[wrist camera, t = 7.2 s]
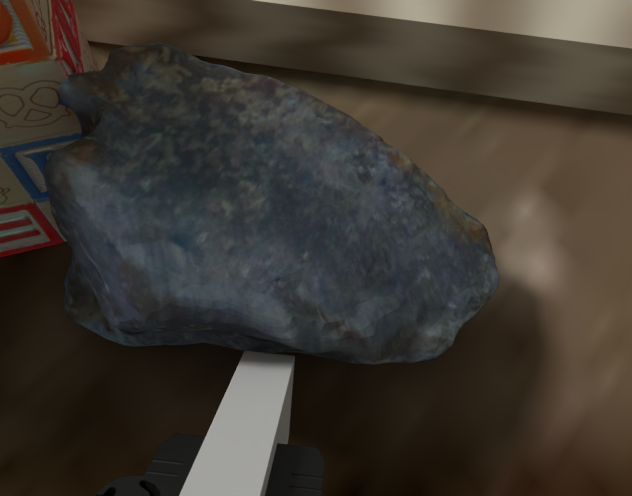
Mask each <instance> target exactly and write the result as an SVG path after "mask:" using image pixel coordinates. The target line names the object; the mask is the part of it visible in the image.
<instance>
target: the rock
mask: <svg viewBox="0 0 632 496" xmlns="http://www.w3.org/2000/svg"><path fill="white" fill-rule="evenodd" d="M68 76H69V78H68V79H66V80H63V81H61V83H60V85H59V92H60V99H59V102H58V104H61V105H63V106H66V107H68V108H70V109H72V110H73V111H74V113H75V114H76V116H77V118H78V120H79V123H80V125H81V130H82V135H81V139H79V140H77V141H75V142H73V143H71V144H69V145H67V146H65V147H63V148H61V149H59V150H56V151H54V152H53V153H52V155H51V156H50V157H49V159H48V161H47V163H46V164H45V166H44V179H45V183H46V187H47V192H48V196H49V201H50V207H51V212H52V216H53V218H54V220H55V222H56V224H57V226H58V229H59V231H60V233H61V234H62V235H63V237H64V238H65V239H66V241H67V242H68V244H69V246H70V247H71V249H72V251H73V252H72V259H71V262H70V266H69V269H68V272H67V274H66V276H65V279H64V285H65V289H66V291H65V296H64V309H65V312H66V314H67V316H68V317H69V318H70V320H71V321H72V322H74V323H76V324H78V325H81V326H83V327H85V328H87V329H88V330H90V331H92V332H94V333H96V334H98V335H100V336H102V337H104V338H105V339H108V340H111V341H114V342H116V343H119V344H122V345H126V346H136V347H138V346H154V345H188V344H197V343H209V344H215V345H220V346H224V347H228V348H232V349H236V350H242V351H253V352H263V353H274V352H298V353H303V354H308V355H313V356H318V357H323V358H330V359H335V360H339V361H343V362H347V363H350V364H371V365H373V364H387V363H403V364H413V363H417V362H421V361H426V360H432V359H434V358H436V357H438V356H439V355H441V354H442V353H444V352H445V351H446V350H448V349H449V348H450V347H452V345H453V342H454V339H455V337H456V335H457V333H458V331H459V329H460V328H461V327H462V326H463V324H464V323H465V322H467V321H468V320H469V319H471V318H472V317H473V316H474V315H475V314H476V313H477V312H478V311H479V310H480V308H481V307H482V306H483V305H484V304H485V303H486V302H487V301H488V300H490V298H491V297H492V296H493V294H494V292H495V291H496V289H497V287H498V283H499V279H500V275H499V274H498V271H497V268H496V265H495V257H494V255H493V252H492V246H491V243H490V240H489V236H488V232H487V230H486V228H485V227H484V225H483V224H482V223H480V222H479V221H478V220H477V219H475V218H473V217H472V216H470V215H469V214H467V213H465V212H464V211H463V210H461V209H460V208H459V207H457V206H456V205H455V204H453V202H452V201H451V200H450V199H449V198H448V197H447V195H446V193H445V192H444V190H443V189H442V188H441V187H440V186H438V185H437V184H436V183H435V182H434V181H433V180H432V179H431V178H430V177H429V176H428V175H427V174H426V173H425V172H424V171H422V170H421V169H420V168H418V167H417V166H416V165H415V164H414V163H413V162H412V161H411V160H410V159H409V157H408V156H407V155H406V154H404V153H402V152H400V151H398V150H396V149H395V148H393V147H392V146H390V145H388V144H387V143H385V142H384V141H383V139H382V138H381V137H380V136H378V135H376V134H375V133H373V132H372V131H370V130H368V129H367V128H365V127H363V126H362V125H361V124H360V123H359V122H358V121H356V120H355V119H354V118H352V117H351V116H349V115H347V114H345V113H343V112H341V111H339V110H337V109H336V108H334V107H332V106H330V105H329V104H327V103H325V102H323V101H321V100H319V99H318V98H315V97H313V96H311V95H310V94H308V93H307V92H305V91H302V90H300V89H298V88H295V87H293V86H291V85H287V84H284V83H282V82H281V81H279V80H277V79H273V78H271V77H268V76H266V75H258V74H249V73H243V72H241V71H238V70H236V69H233V68H230V67H228V66H225V65H218V64H212V63H208V62H205V61H202V60H200V59H198V58H197V57H195V56H193V55H192V54H190V53H188V52H186V51H184V50H182V49H180V48H178V47H175V46H172V45H169V44H166V43H162V42H152V43H150V44H148V45H133V46H127V47H122V48H118V49H116V50H113V51H112V52H111V53H110V55H109V57H108V61H107V63H106V65H105V66H104V68H103V69H102V70H101V71H90V72H82V73H73V74H70V75H68Z"/></svg>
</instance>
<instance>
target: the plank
mask: <svg viewBox="0 0 632 496" xmlns="http://www.w3.org/2000/svg"><path fill="white" fill-rule="evenodd" d="M72 3H73V7H74V10H75V12H76V14H77V17H78V19H79V22H80V24H81V27H82V29H83V32H84V34H85V36H86V39H87V40H88V41H95V42H102V43H110V44H117V45H124V46H133V45H148V44H150V43H152V42H162V43H166V44H169V45H172V46H175V47H178V48H180V49H182V50H184V51H186V52H188V53H190V54H192V55H197V56H204V57H211V58H219V59H226V60H233V61H240V62H248V63H255V64H262V65H269V66H277V67H284V68H291V69H298V70H306V71H313V72H320V73H327V74H335V75H342V76H349V77H356V78H364V79H371V80H378V81H385V82H393V83H400V84H407V85H414V86H422V87H429V88H436V89H443V90H451V91H458V92H465V93H472V94H480V95H487V96H494V97H502V98H509V99H516V100H523V101H531V102H538V103H545V104H552V105H560V106H567V107H574V108H581V109H589V110H596V111H603V112H610V113H618V114H625V115H632V0H72Z"/></svg>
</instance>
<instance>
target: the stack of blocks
mask: <svg viewBox="0 0 632 496" xmlns="http://www.w3.org/2000/svg"><path fill="white" fill-rule="evenodd" d="M90 71H99V69H98V66H97V64H96V61H95V59H94V56H93V54H92V51H91V49H90V46H89V44H88V41H87V39H86V36H85V34H84V32H83V29H82V27H81V24H80V22H79V19H78V17H77V14H76V12H75V10H74V7H73V3H72V0H0V257H4V256H8V255H13V254H17V253H22V252H26V251H30V250H34V249H39V248H44V247H49V246H53V245H57V244H61V243H63V242H67V241H66V239H65V238H64V237H63V235H62V234H61V233H60V231H59V229H58V226H57V224H56V222H55V220H54V218H53V216H52V212H51V207H50V201H49V196H48V192H47V187H46V183H45V179H44V166H45V164H46V163H47V161H48V159H49V157H50V156H51V155H52V153H53V152H54V151H56V150H59V149H61V148H63V147H65V146H67V145H69V144H71V143H73V142H75V141H77V140H79V139H81V135H82V130H81V125H80V123H79V120H78V118H77V116H76V114H75V113H74V111H73V110H72V109H70V108H68V107H66V106H63V105H61V104H58V102H59V99H60V92H59V85H60V83H61V81H63V80H66V79H68V78H69V76H68V75H70V74H73V73H82V72H90Z"/></svg>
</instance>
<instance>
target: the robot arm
mask: <svg viewBox="0 0 632 496" xmlns="http://www.w3.org/2000/svg"><path fill="white" fill-rule="evenodd" d="M294 362H295V356H291V355H281V354H272V353H263V352H253V351H244V353H243V355H242V357H241V360H240V362H239V364H238V366H237V368H236V371H235V373H234V375H233V377H232V380H231V382H230V384H229V386H228V388H227V391H226V393H225V395H224V397H223V399H222V402H221V404H220V406H219V408H218V411H217V413H216V415H215V417H214V419H213V422H212V424H211V426H210V428H209V430H208V433H207V435H206V436H198V435H189V434H180V433H175V434H174V435H173V436H171V437H170V438H169V439H167V440H166V441H165V442H163V443H162V444H161V445H160V447H159V449H158V450H157V452H156V454H155V456H154V457H153V460H152V461H151V463H150V464H149V466H148V468H147V470H146V473H144V475H141V476H127V477H123V478H119V479H116V480H114V481H112V482H110V483H108V484H106V485H104V486H103V488H102V489H101V490H100V491H99V492H98V493H97V494H96V496H322V486H323V476H324V466H325V461H324V459H323V457H322V455H321V453H320V451H319V449H318V448H315V447H306V446H298V445H289V444H287V443H288V439H289V427H290V414H291V401H292V388H293V375H294Z"/></svg>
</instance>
